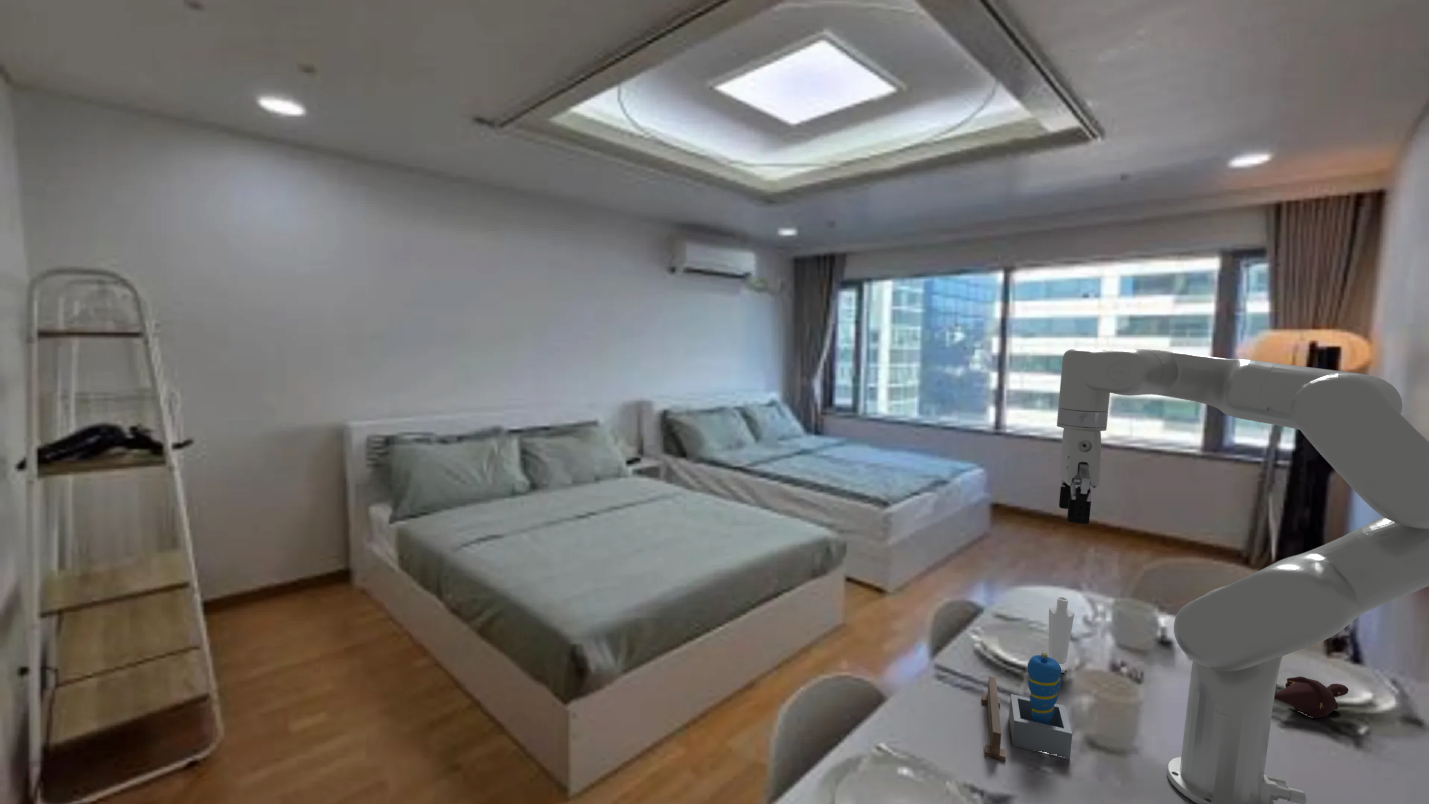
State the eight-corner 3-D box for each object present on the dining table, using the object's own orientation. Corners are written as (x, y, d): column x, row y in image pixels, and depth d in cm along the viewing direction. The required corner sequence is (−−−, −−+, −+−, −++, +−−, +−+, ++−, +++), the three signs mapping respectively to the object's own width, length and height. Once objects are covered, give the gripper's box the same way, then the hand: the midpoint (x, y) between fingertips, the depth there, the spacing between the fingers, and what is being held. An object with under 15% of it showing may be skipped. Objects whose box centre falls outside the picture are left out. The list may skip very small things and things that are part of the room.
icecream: (1302, 697, 109) (1372, 699, 111) (1263, 665, 115) (1329, 668, 118) (1284, 727, 111) (1353, 729, 113) (1246, 694, 118) (1312, 696, 120)
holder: (1062, 730, 108) (1064, 705, 107) (1069, 760, 100) (1072, 733, 99) (1008, 717, 111) (1010, 694, 110) (1012, 746, 103) (1014, 720, 102)
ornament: (1060, 747, 102) (1068, 660, 100) (1027, 742, 103) (1034, 656, 102) (1050, 727, 107) (1057, 644, 106) (1018, 723, 108) (1025, 641, 107)
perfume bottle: (1038, 665, 129) (1044, 596, 128) (1052, 661, 131) (1059, 593, 129) (1058, 676, 125) (1065, 605, 124) (1073, 672, 127) (1079, 601, 125)
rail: (999, 701, 116) (1001, 678, 115) (1005, 761, 99) (1007, 735, 98) (981, 697, 117) (983, 675, 116) (984, 756, 100) (986, 730, 100)
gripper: (1118, 427, 99) (1108, 532, 101) (1096, 416, 115) (1088, 506, 117) (1065, 424, 102) (1055, 525, 104) (1051, 413, 118) (1043, 501, 120)
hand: (1073, 515), depth 110 cm, fingers open, 9 cm apart
